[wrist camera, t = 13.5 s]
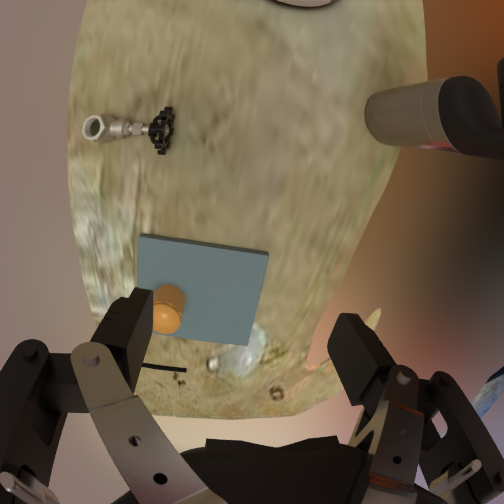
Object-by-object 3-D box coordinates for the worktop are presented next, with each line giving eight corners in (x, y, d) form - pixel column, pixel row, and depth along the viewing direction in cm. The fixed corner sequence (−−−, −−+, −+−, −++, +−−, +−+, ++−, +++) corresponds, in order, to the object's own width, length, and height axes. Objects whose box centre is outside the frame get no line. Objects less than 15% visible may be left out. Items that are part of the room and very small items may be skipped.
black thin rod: (131, 362, 50) (130, 366, 49) (130, 359, 49) (129, 363, 48) (186, 370, 51) (186, 373, 50) (186, 367, 51) (186, 370, 50)
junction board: (267, 252, 43) (269, 255, 41) (246, 340, 49) (247, 345, 48) (141, 233, 40) (138, 236, 38) (141, 325, 46) (139, 330, 45)
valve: (97, 150, 34) (170, 154, 36) (76, 152, 28) (159, 155, 30) (103, 108, 32) (177, 110, 33) (83, 103, 26) (167, 103, 27)
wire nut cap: (186, 287, 42) (181, 308, 37) (183, 314, 44) (179, 336, 38) (154, 282, 41) (145, 302, 36) (154, 309, 43) (146, 330, 38)
